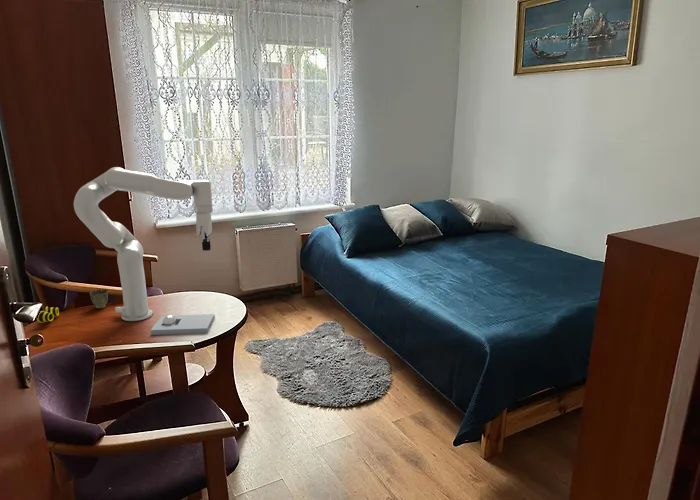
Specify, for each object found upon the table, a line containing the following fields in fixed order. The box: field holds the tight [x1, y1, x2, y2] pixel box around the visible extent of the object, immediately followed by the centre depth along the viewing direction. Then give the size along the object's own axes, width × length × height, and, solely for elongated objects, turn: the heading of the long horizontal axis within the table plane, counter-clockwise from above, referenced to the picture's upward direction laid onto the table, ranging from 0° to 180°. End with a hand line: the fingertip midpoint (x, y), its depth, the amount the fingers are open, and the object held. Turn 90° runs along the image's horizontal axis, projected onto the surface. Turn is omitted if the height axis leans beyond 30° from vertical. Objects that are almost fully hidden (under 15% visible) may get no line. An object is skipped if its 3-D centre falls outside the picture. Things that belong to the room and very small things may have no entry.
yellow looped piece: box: [36, 306, 60, 324], centre depth 209 cm, size 10×5×5 cm, turn 7°
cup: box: [89, 288, 109, 310], centre depth 221 cm, size 8×7×8 cm
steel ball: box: [163, 315, 177, 325], centre depth 201 cm, size 5×5×5 cm
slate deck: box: [150, 313, 216, 336], centre depth 202 cm, size 22×15×2 cm
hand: (206, 249), depth 215 cm, fingers closed
